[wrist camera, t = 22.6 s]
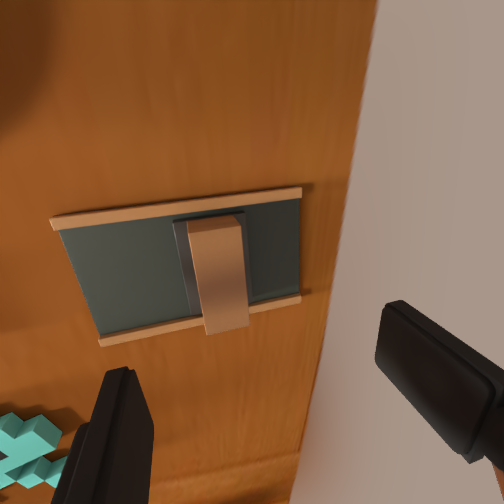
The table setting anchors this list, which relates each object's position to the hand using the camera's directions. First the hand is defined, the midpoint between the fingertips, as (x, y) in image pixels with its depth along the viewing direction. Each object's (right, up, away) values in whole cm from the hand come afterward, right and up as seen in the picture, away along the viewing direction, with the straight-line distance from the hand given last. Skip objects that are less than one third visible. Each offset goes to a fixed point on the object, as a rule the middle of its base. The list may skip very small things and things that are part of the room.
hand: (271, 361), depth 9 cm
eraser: (-5, +3, +22) cm, 23 cm away
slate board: (-7, +2, +22) cm, 23 cm away
